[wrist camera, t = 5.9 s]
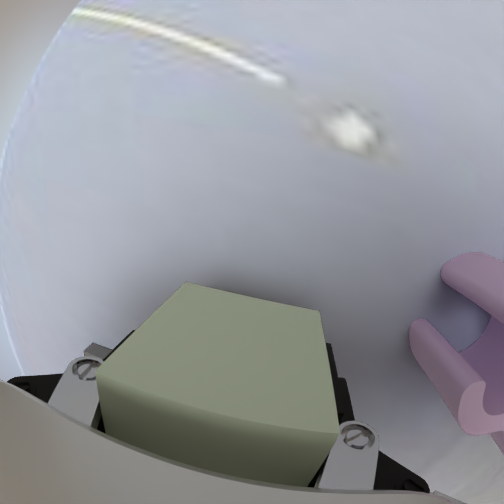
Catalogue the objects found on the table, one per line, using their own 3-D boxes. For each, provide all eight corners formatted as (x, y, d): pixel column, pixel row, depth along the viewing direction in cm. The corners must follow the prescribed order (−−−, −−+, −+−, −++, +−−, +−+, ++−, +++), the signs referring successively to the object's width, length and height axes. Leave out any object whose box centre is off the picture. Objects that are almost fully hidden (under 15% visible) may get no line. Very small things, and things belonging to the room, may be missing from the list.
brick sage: (185, 281, 11) (94, 371, 5) (319, 311, 11) (339, 433, 5) (176, 383, 12) (119, 484, 6) (286, 409, 12) (277, 526, 6)
